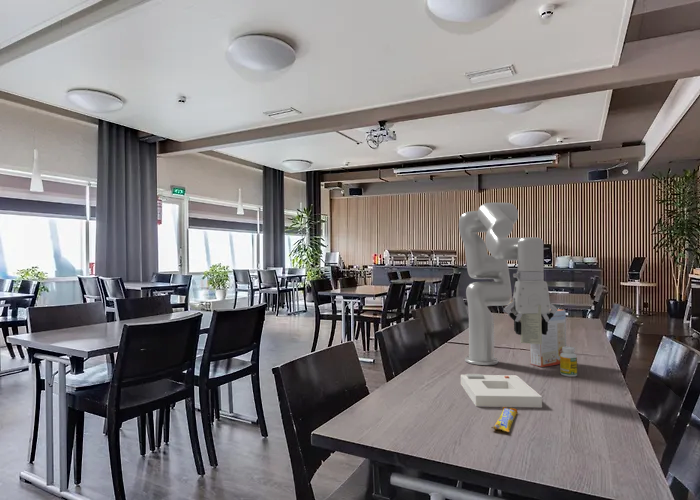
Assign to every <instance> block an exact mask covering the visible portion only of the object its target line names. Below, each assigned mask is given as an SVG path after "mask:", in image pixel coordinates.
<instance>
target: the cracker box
mask: <svg viewBox="0 0 700 500" xmlns="http://www.w3.org/2000/svg"><path fill="white" fill-rule="evenodd" d="M557 309H558V308H557ZM550 310H551V309H550ZM566 314H567V313H566V309H560V308H559V309H558V310H557V312H556V313H555V314H554V315H553V317H552V318H551V319H550V320H549V322H548V331H547V335H544V334H542V344H529V356H530V357H529V359H530V360H529V364H530V365H532V366H536V367H541V368H545V367H552V366H556V365H560V354H561V353H563V351H562V347H567V319H566V316H567V315H566ZM541 320H542V318H541Z"/></svg>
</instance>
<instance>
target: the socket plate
mask: <svg viewBox="0 0 700 500" xmlns="http://www.w3.org/2000/svg"><path fill="white" fill-rule="evenodd" d="M460 385H461V386H462V388H463V390H464V391H465V393H466V394H467V395H468V397H469V399H470V400H471V401H472V403H473V405H474V406H475V407H478V408H480V407H488V408H489V407H490V408H499V407H500V408H503V407H506V408H543V397H542V395H540V394H539V393H538V392H537V391H536V390H535V389H534V388H532V387H531V386H530V385H528V383H527V382H525V380H523V379H522V378H521V377H519V376H518V375H514V374H513V375H512V374H510V375H509V374H508V375H506V374H498V375H497V374H482V373H466V374H460Z"/></svg>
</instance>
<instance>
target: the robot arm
mask: <svg viewBox="0 0 700 500" xmlns="http://www.w3.org/2000/svg"><path fill="white" fill-rule="evenodd" d="M518 218H519V211H518V209H517V206H515V204H513V203H511V202H485V203H483V204H481V205H480V206H479V207H478V210H474V211H466V212H464V213H462V214H461V215H460V216H459V218H458V233H459V235H460V238H461V241H462V243H463V247H464V252H465V260H466V261H465V262H466V269H467V274H468V276H469V277H470V278H471V279H475V280H493V281H475V282H474V281H473V282H470V283H469V284H468V285H467V287H466V289H465V290H466V291H465V296H466V301H467V308H468V309H467V310H468V356H465V357H464V361H465V362H466V363H468V364H471V365H477V366H493V365H497V364H499V359H498V358H496V357H495V321H494V320H495V319H494V315H493V313H492V312H491V310H490V309H489V308H488V307H492V306H495V307H496V306H497V307H499V306H501V307H502V306H505V307H504V308H503V310H504V311H505V313H506V314H507V316H508V317H510V318H511V319H512V320H513V332H515V334H516V335H518V336H519V335H521V322H520V318H521V316H522V315H523V314H537V313H538V306H537V305H541V318H542V320H541V324H542V334H544V335H547V331H548V322H549V320H550V319H551V318H552V317H553V315H554V314H555V313H556V312H557V310H558V308H557V307H556V306H555V305H554V304H552V303H551V301H550V293H549V286H548V283H547V281H544V278H545V275H544V272H545V271H544V266H545V265H544V240H543V239H542V238H541V237H537V236H535V237H534V236H533V237H532V236H531V237H530V236H529V237H508V236H509V235H511V233H512V232H513V230H514V225H515V224H516V223H517V221H518ZM478 233H485V240H484V239H483V237H481V236H480V235H479V234H478ZM488 252H489V254H488ZM507 261H517V271H516V273H514V272H513V274H512V276H513V278H516V280H517V281H516V280H515V283H514V288H513V290H512V285H511V277H510V269H509V265H508V262H507ZM512 291H513V292H512ZM512 295H513V296H512ZM512 309H513V311H514V312H515V313H513V312H512ZM550 309H551V310H550Z"/></svg>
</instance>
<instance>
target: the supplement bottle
mask: <svg viewBox="0 0 700 500" xmlns="http://www.w3.org/2000/svg"><path fill="white" fill-rule="evenodd" d="M562 351H563V353H561V354H560V364H559V367H560V368H559V369H560V370H559V371H560V374H561V376H564V377H571V378H573V377H577V376H578V356H577V354H576V353H575V352H576V348H575V347H573V346H566V347H562Z"/></svg>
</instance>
